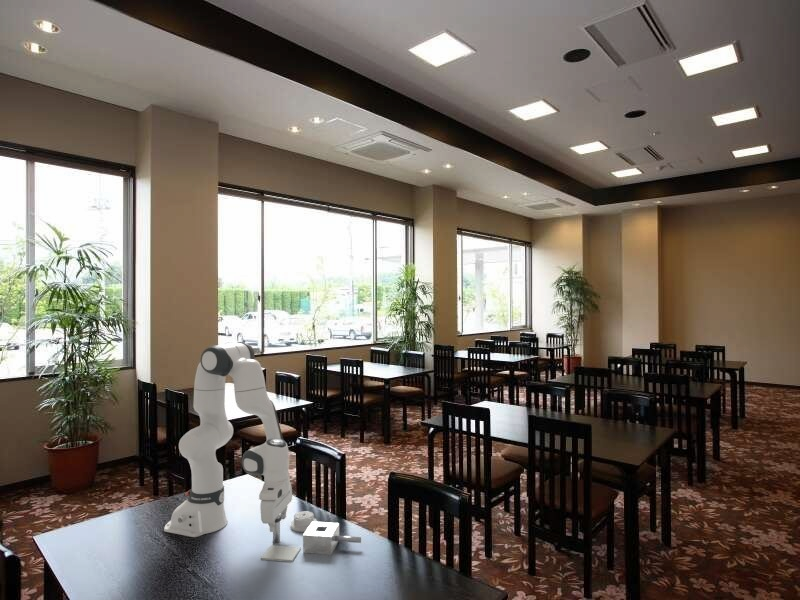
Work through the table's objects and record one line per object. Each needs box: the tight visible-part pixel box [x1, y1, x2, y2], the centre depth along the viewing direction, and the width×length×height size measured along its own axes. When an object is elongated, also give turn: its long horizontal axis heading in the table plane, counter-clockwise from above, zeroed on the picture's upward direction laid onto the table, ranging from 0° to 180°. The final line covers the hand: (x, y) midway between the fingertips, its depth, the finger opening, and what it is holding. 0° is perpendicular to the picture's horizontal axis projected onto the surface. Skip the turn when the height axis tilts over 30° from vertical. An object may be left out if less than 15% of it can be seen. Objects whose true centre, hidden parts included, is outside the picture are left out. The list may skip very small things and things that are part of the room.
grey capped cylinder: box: [272, 515, 282, 544], centre depth 168 cm, size 3×3×9 cm
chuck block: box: [302, 521, 362, 555], centre depth 164 cm, size 19×10×6 cm, turn 82°
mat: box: [260, 544, 302, 563], centre depth 160 cm, size 11×8×1 cm
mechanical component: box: [290, 510, 318, 533], centre depth 180 cm, size 10×4×10 cm
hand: (278, 524), depth 168 cm, fingers open, 8 cm apart
